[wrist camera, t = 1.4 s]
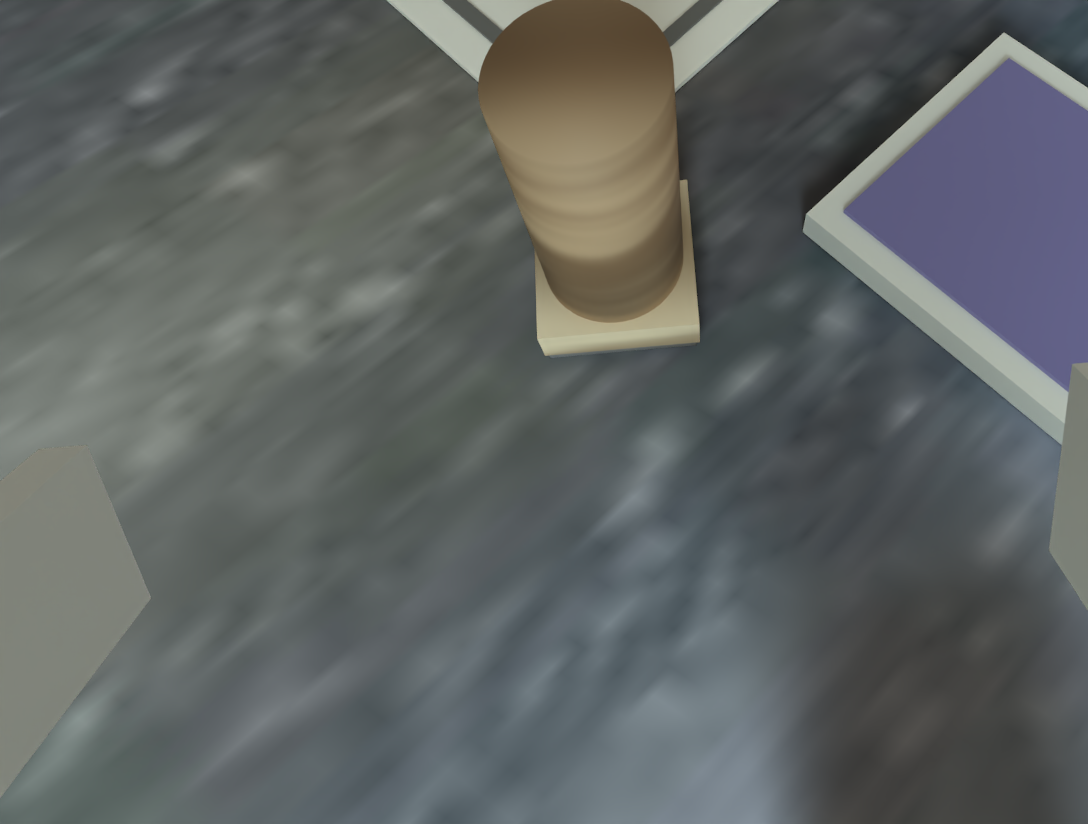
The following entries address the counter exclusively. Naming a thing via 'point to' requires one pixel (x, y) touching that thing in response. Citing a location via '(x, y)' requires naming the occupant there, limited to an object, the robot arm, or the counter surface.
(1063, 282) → the ink pad
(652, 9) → the sheet
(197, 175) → the counter surface
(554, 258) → the stamp
